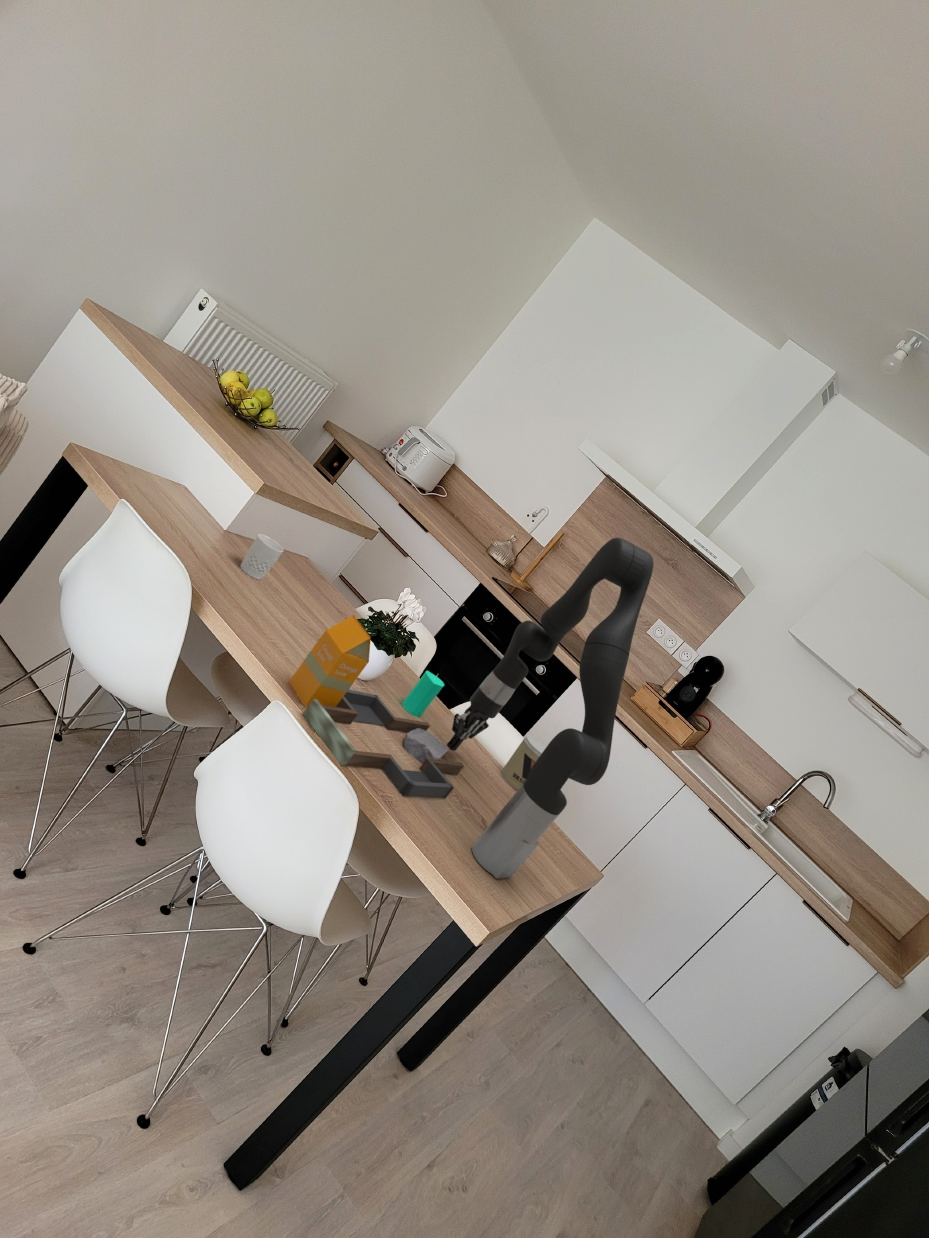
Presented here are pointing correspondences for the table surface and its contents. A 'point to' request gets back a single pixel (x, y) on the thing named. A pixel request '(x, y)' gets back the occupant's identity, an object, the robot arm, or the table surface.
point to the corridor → (344, 751)
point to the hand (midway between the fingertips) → (450, 748)
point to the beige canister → (522, 761)
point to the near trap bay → (418, 780)
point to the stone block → (423, 745)
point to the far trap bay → (366, 708)
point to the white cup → (261, 557)
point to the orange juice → (333, 664)
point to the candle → (422, 694)
